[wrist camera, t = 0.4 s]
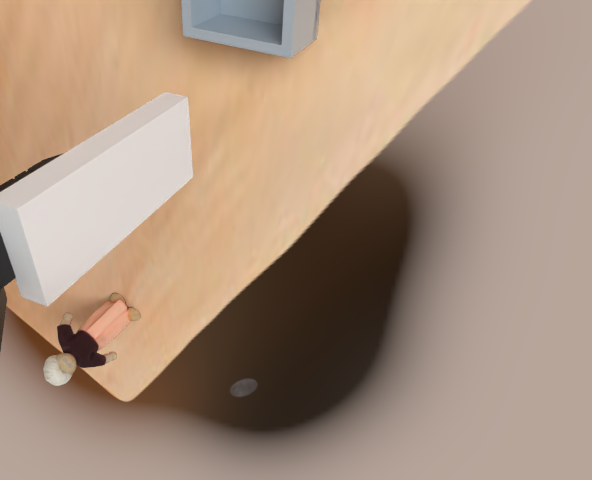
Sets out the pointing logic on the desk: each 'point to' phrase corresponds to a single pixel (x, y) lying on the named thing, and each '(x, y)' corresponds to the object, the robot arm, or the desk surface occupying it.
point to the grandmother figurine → (88, 339)
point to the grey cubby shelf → (253, 23)
